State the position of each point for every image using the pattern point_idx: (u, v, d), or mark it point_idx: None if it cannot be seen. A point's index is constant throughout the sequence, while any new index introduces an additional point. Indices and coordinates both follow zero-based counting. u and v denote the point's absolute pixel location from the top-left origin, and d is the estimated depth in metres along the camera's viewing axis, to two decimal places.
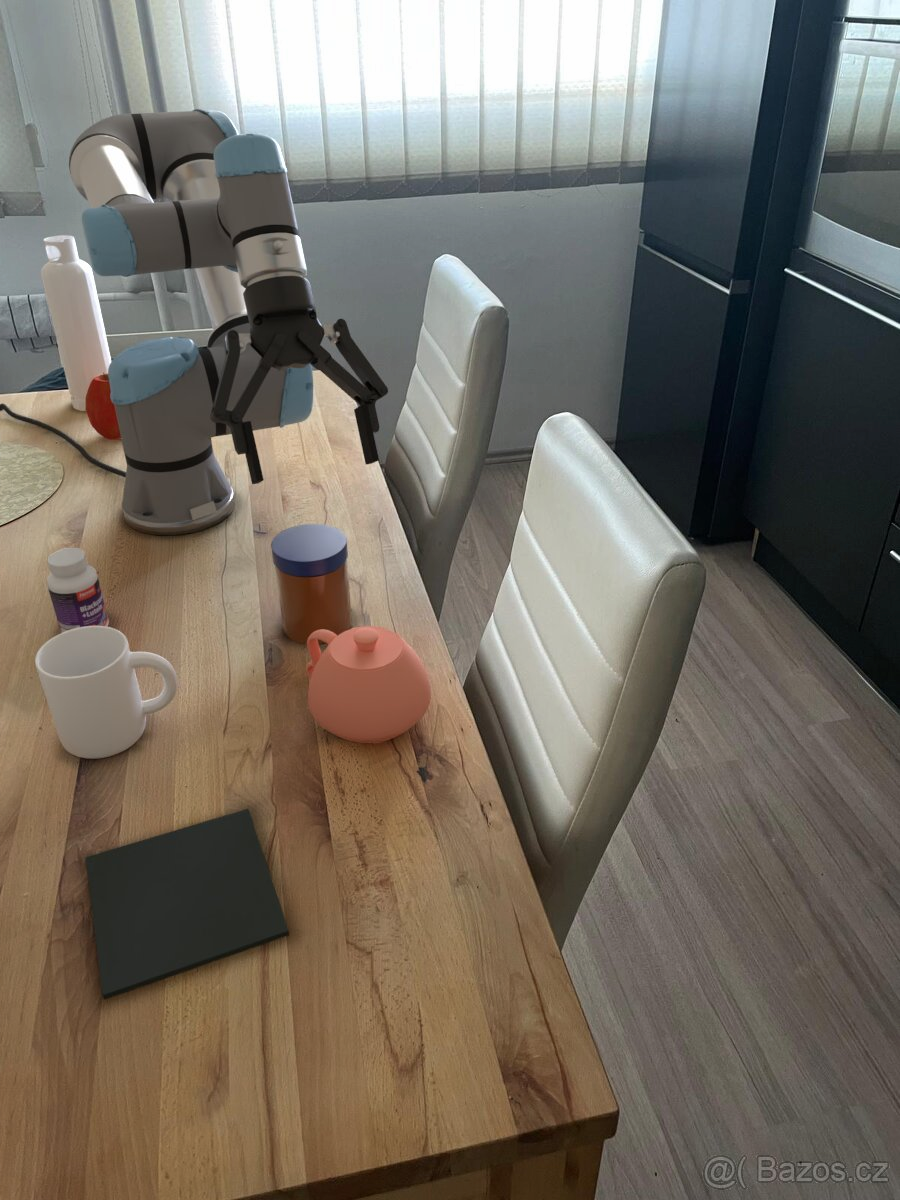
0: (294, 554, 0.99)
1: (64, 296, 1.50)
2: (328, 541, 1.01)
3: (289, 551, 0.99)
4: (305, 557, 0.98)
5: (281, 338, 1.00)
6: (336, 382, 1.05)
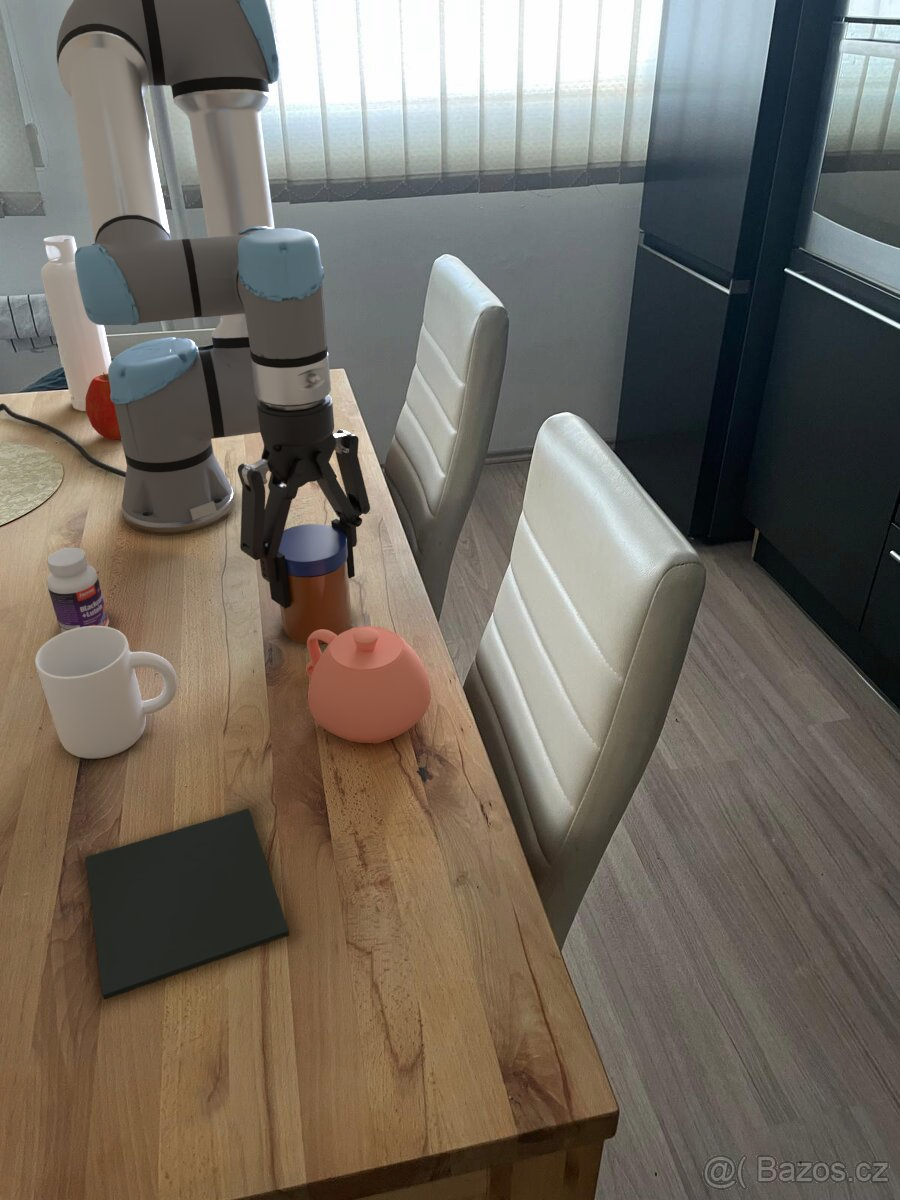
0: (294, 554, 0.99)
1: (64, 296, 1.50)
2: (328, 541, 1.01)
3: (289, 551, 0.99)
4: (305, 557, 0.98)
5: (301, 465, 0.93)
6: (326, 494, 1.01)
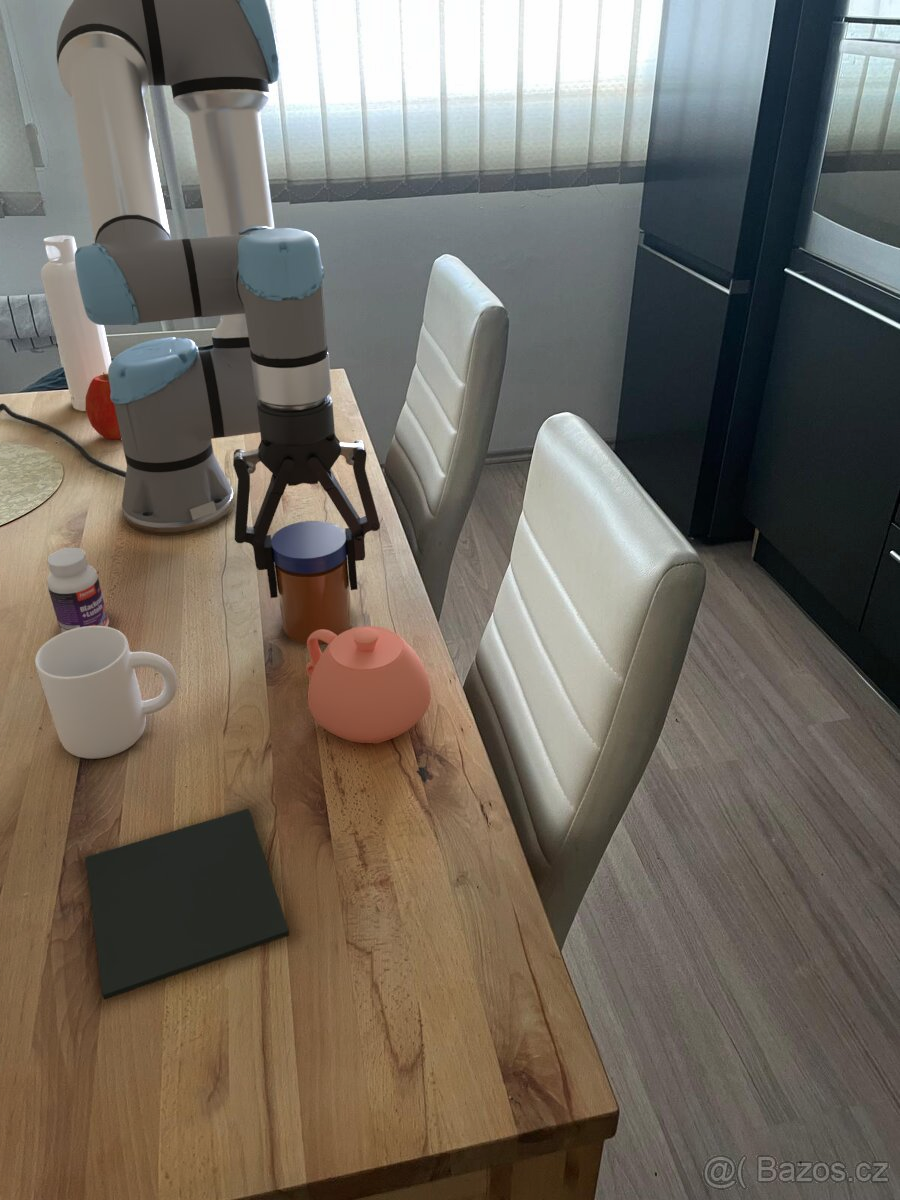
0: (333, 532, 1.02)
1: (64, 296, 1.50)
2: (293, 534, 1.02)
3: (333, 535, 1.01)
4: (328, 526, 1.03)
5: None
6: None
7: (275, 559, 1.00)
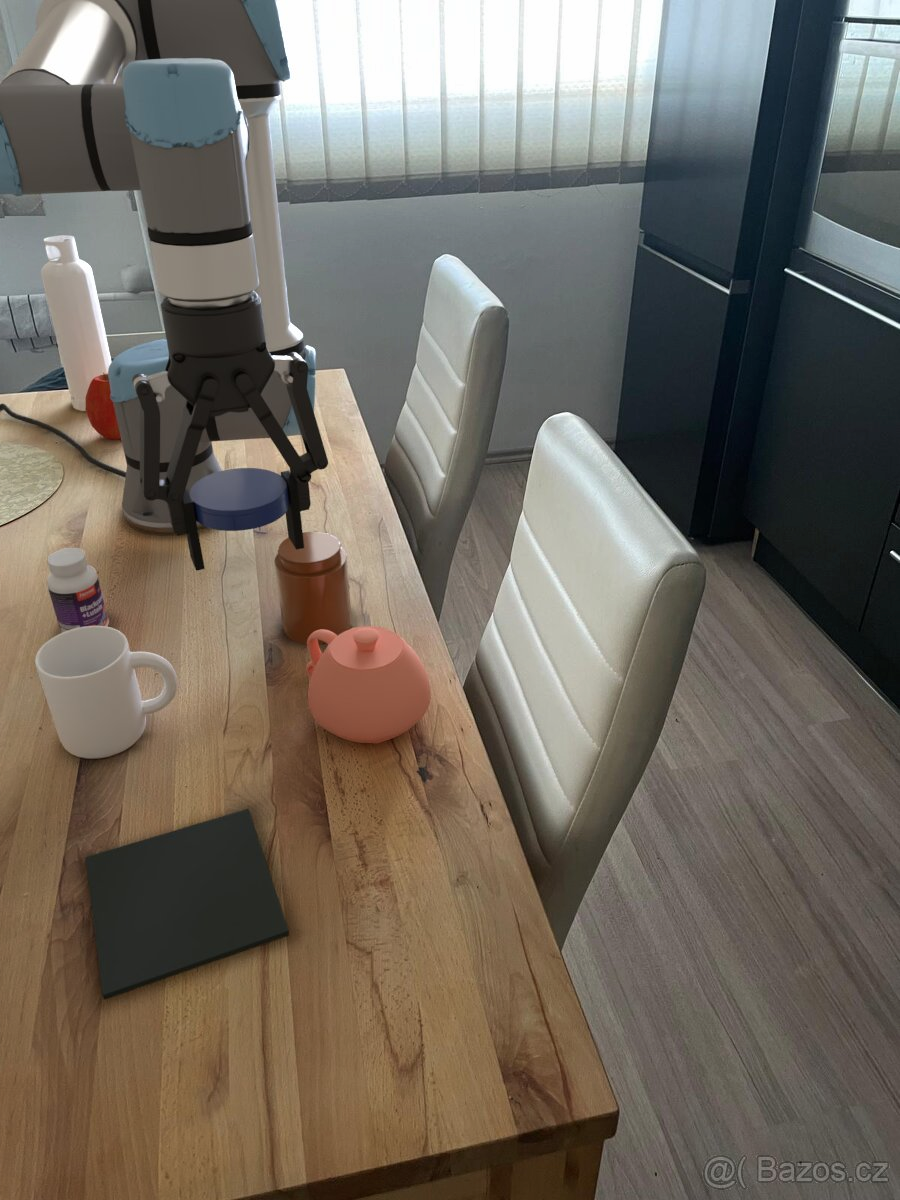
0: (266, 477, 0.81)
1: (64, 296, 1.50)
2: (216, 485, 0.79)
3: (269, 481, 0.80)
4: (257, 472, 0.81)
5: None
6: None
7: (200, 518, 0.77)
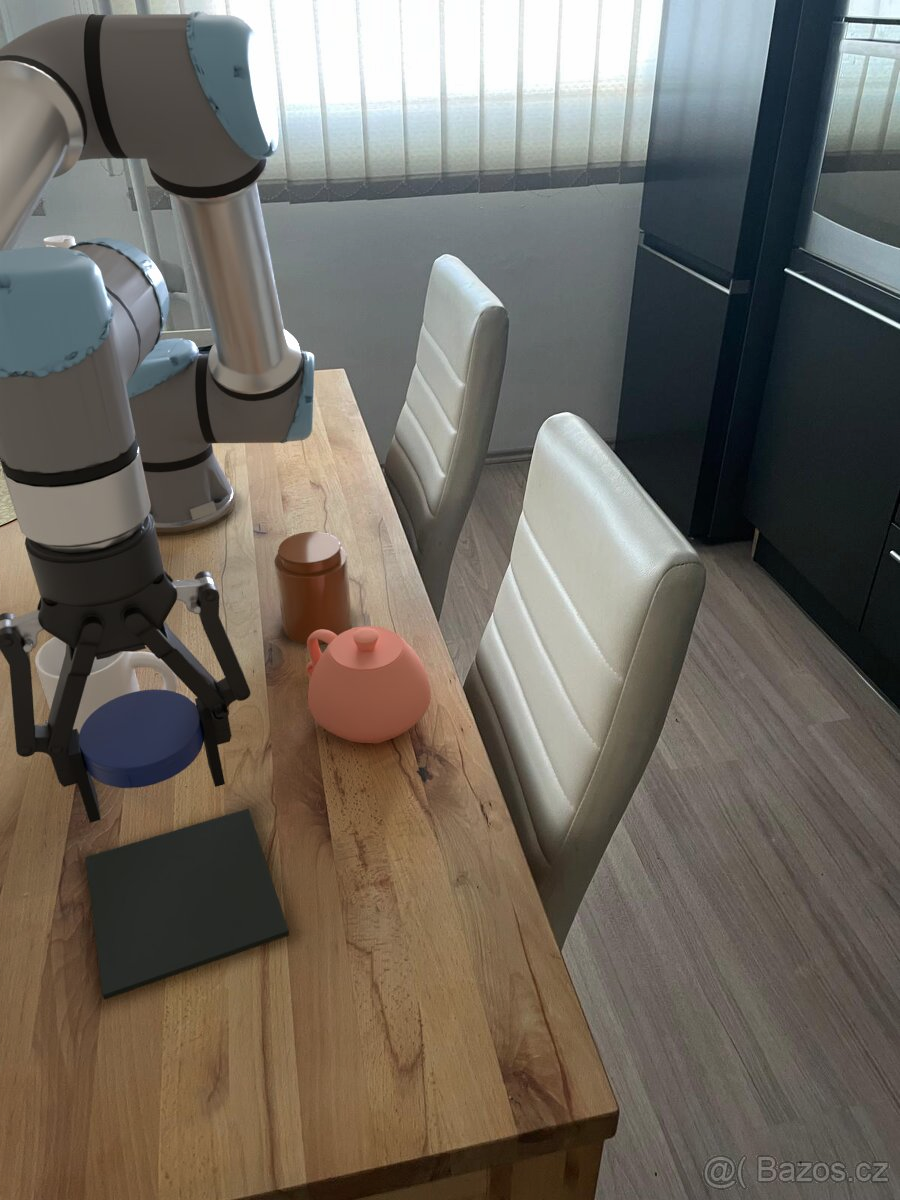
0: (176, 707, 0.66)
1: None
2: (114, 720, 0.65)
3: (179, 714, 0.66)
4: (167, 698, 0.67)
5: None
6: None
7: (90, 770, 0.63)
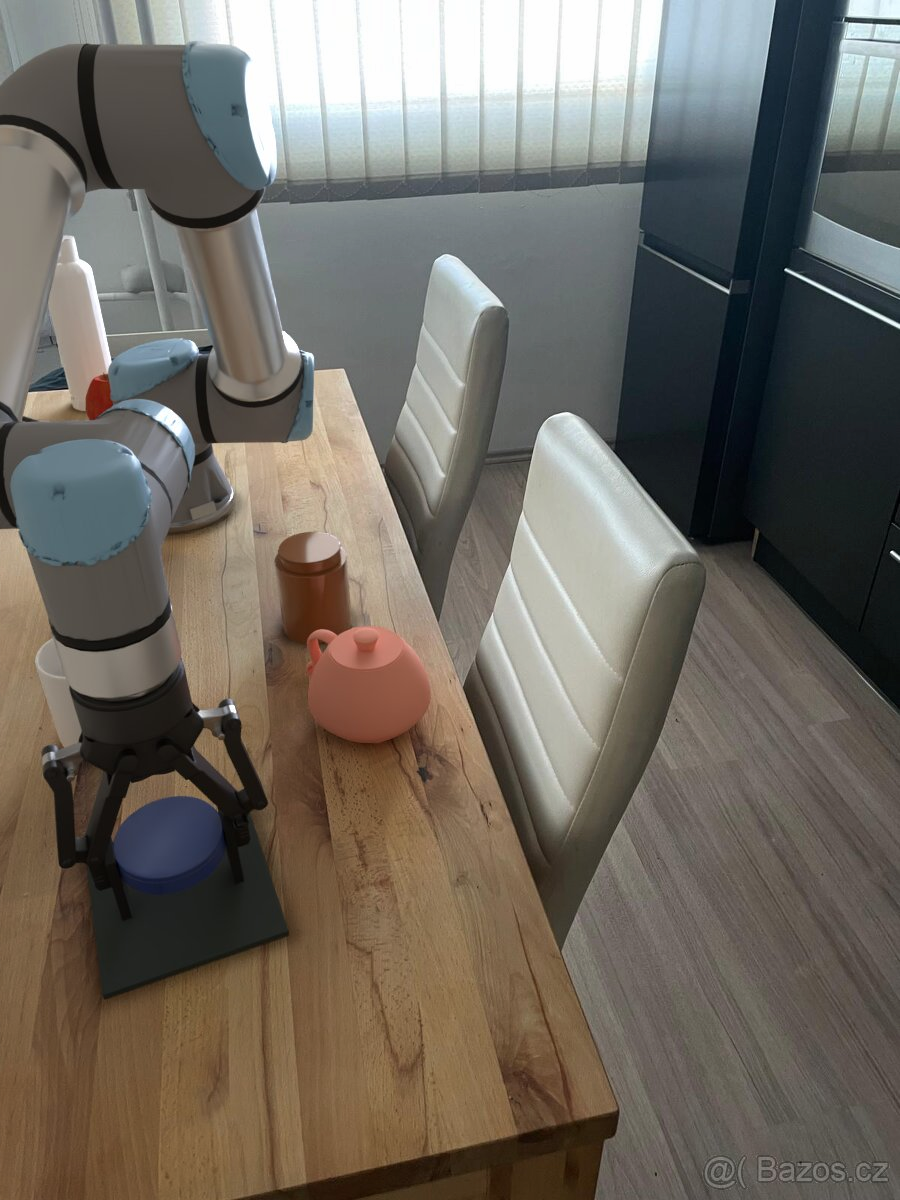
0: (201, 815, 0.73)
1: (64, 296, 1.50)
2: (144, 828, 0.72)
3: (203, 822, 0.72)
4: (192, 805, 0.74)
5: None
6: None
7: (123, 877, 0.69)
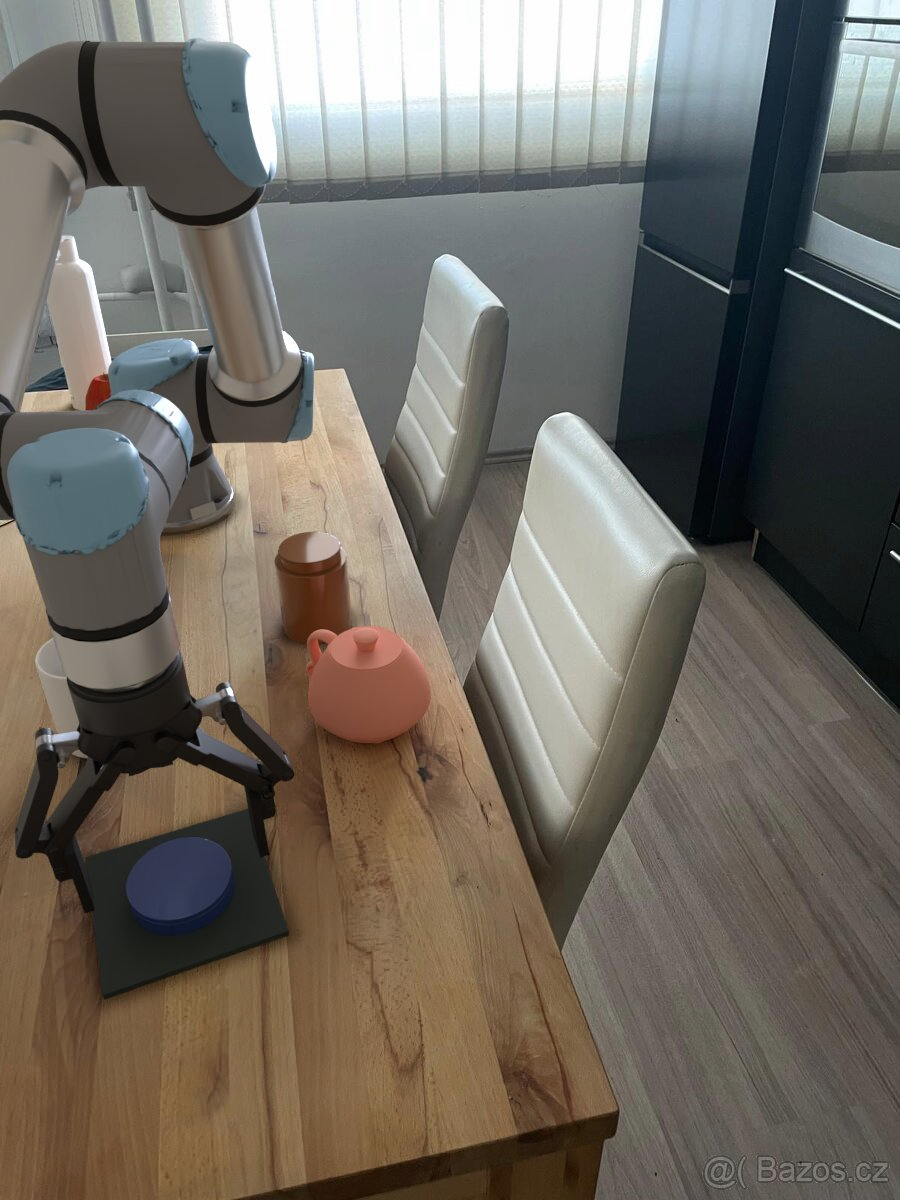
0: (210, 856, 0.76)
1: (64, 296, 1.50)
2: (156, 870, 0.74)
3: (213, 864, 0.75)
4: (202, 846, 0.76)
5: None
6: None
7: (136, 918, 0.72)
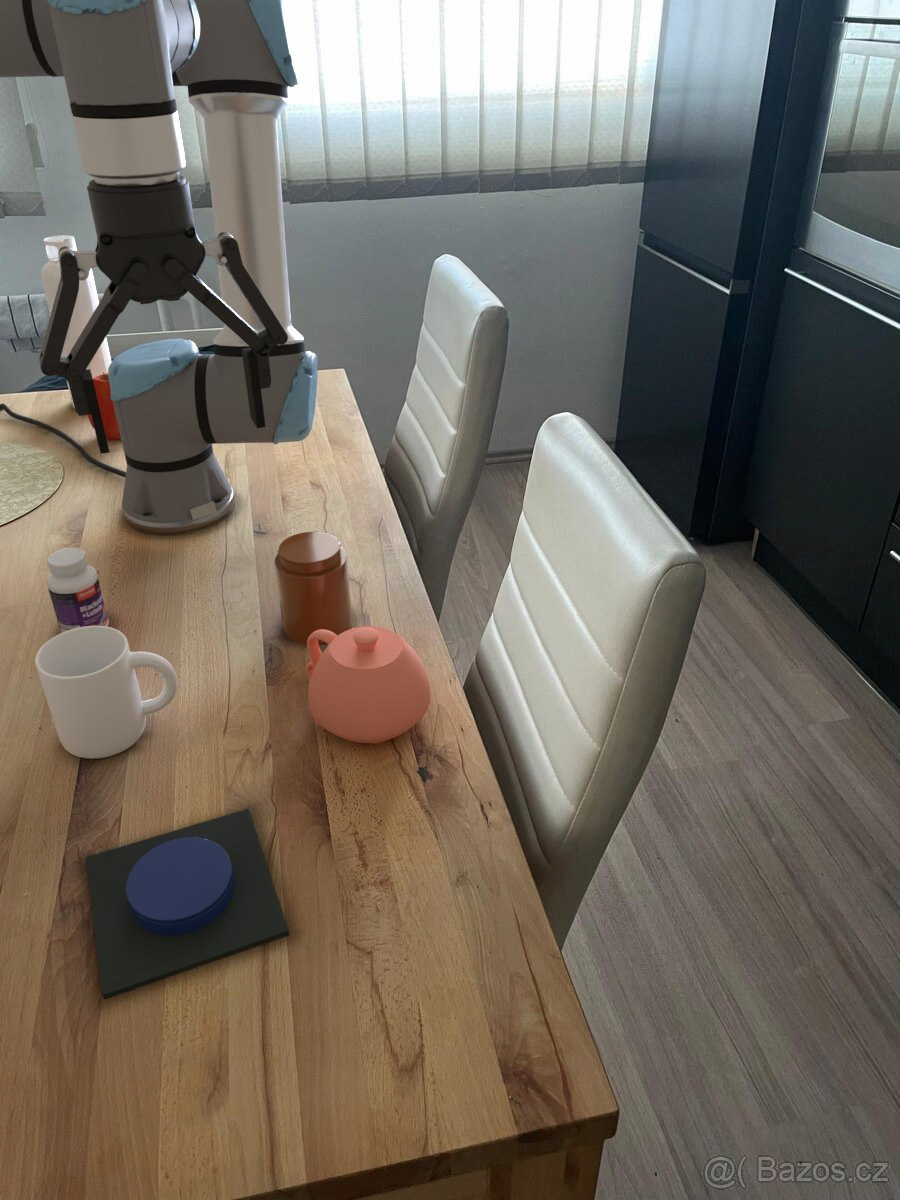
0: (210, 856, 0.76)
1: None
2: (156, 870, 0.74)
3: (213, 864, 0.75)
4: (202, 846, 0.76)
5: None
6: None
7: (136, 918, 0.72)
